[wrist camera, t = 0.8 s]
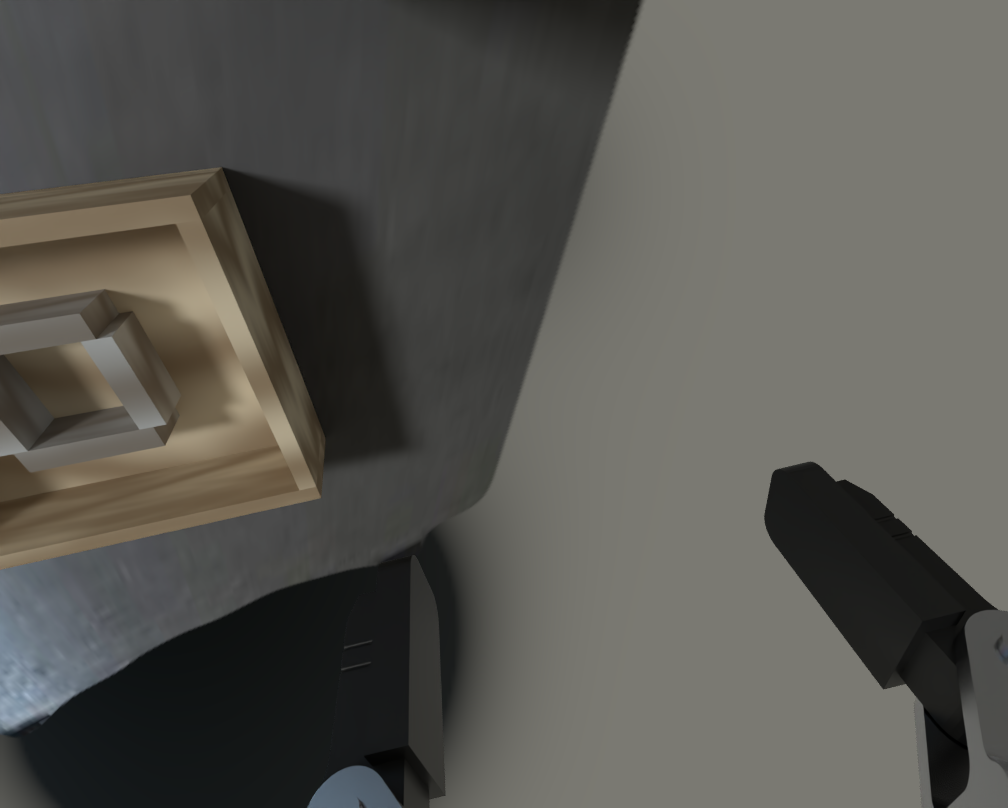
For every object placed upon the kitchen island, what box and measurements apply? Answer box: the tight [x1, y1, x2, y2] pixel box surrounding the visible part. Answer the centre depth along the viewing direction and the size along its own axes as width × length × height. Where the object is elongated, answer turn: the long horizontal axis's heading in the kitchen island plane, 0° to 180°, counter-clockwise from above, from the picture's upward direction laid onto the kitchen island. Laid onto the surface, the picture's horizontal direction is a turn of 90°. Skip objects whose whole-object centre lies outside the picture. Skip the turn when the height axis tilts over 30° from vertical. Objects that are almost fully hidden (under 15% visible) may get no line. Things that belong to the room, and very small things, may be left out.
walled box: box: [0, 167, 326, 570], centre depth 26 cm, size 18×22×6 cm
